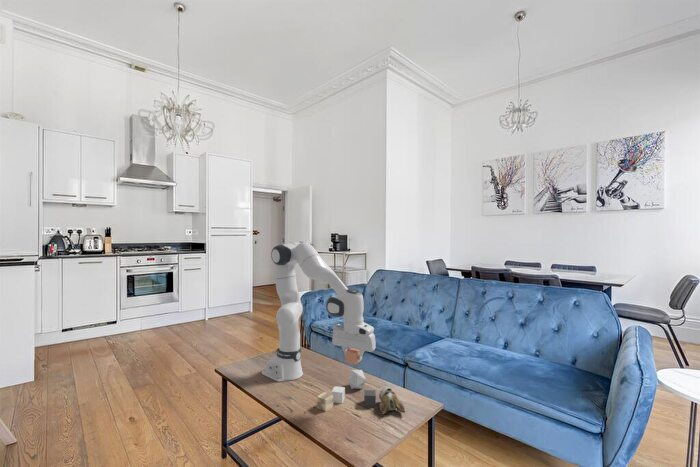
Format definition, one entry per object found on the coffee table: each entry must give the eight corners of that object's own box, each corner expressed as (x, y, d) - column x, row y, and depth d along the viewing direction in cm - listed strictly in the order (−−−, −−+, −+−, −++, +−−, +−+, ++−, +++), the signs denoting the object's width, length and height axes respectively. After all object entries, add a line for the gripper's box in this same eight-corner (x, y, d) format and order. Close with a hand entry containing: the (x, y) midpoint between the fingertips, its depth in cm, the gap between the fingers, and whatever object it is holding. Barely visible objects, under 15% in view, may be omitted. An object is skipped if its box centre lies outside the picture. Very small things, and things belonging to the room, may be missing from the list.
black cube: (364, 406, 140) (364, 395, 140) (364, 400, 145) (364, 389, 145) (375, 407, 139) (375, 395, 139) (375, 401, 144) (375, 390, 144)
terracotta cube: (345, 362, 140) (345, 351, 140) (350, 358, 144) (350, 347, 144) (355, 364, 137) (355, 353, 137) (360, 360, 142) (360, 349, 142)
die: (359, 395, 151) (370, 375, 154) (343, 384, 153) (354, 365, 156) (358, 393, 159) (369, 374, 162) (343, 382, 161) (354, 364, 164)
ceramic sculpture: (397, 380, 146) (406, 398, 132) (397, 398, 147) (406, 418, 132) (374, 381, 145) (381, 400, 130) (374, 399, 146) (381, 420, 131)
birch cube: (317, 407, 138) (317, 396, 138) (324, 403, 142) (324, 392, 142) (325, 411, 135) (325, 400, 135) (333, 406, 139) (333, 395, 139)
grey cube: (331, 402, 143) (331, 391, 143) (334, 396, 148) (334, 386, 148) (342, 403, 142) (342, 392, 142) (344, 398, 147) (344, 387, 147)
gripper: (329, 325, 143) (329, 355, 143) (371, 331, 133) (371, 364, 133) (336, 321, 148) (336, 351, 148) (377, 328, 139) (377, 359, 139)
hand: (353, 357), depth 141 cm, fingers closed on terracotta cube, 5 cm apart
